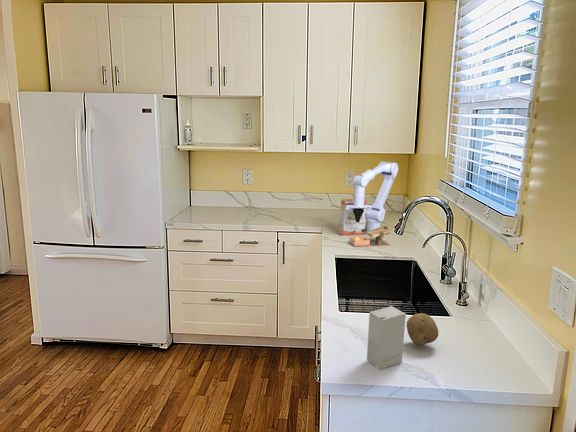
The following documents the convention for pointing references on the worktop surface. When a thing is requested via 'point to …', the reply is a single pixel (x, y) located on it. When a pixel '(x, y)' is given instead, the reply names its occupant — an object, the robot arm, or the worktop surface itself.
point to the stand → (376, 242)
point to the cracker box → (350, 219)
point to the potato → (422, 329)
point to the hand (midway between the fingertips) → (357, 222)
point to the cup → (360, 241)
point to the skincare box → (386, 337)
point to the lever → (377, 231)
